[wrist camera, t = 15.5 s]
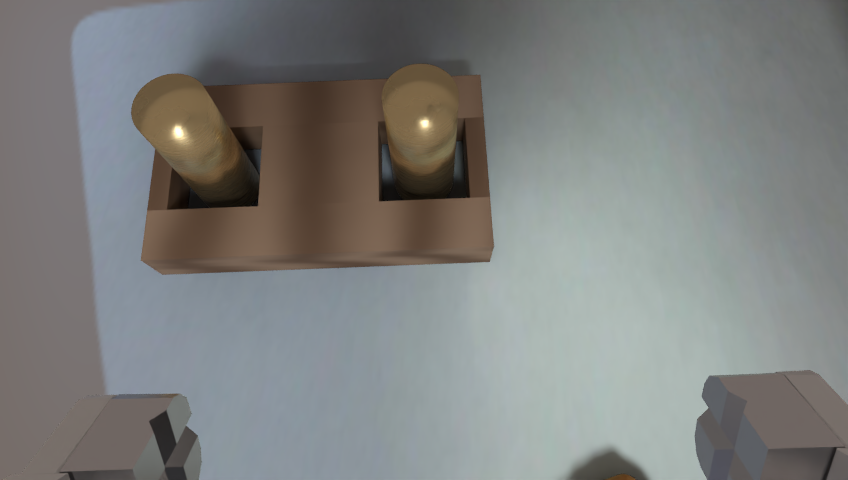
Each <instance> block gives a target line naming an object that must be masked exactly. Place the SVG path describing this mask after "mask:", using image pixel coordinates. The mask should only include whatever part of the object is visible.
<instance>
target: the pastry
mask: <svg viewBox="0 0 848 480" xmlns="http://www.w3.org/2000/svg"><path fill="white" fill-rule="evenodd" d="M605 480H636V479H635V478H633V477H632V476H629V475H626V474H619V475H616V476H613V477H610V478H608V479H605Z"/></svg>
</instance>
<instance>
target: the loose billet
mask: <svg viewBox="0 0 848 480" xmlns="http://www.w3.org/2000/svg"><path fill="white" fill-rule="evenodd" d="M458 103H459V92H458V88H457V85H456V83H455V81H454V80H453V78H452V77H451V76H450V75H449V74H448V73H447V72H446V71H444V70H443V69H441V68H439V67H436V66H434V65H429V64H412V65H408V66H405V67H403V68H401V69H399V70H397V71H396V72H395V73H393V74H392V75H391V76H390V77H389V78H388V80H387V81H386V83H385V85H384V87H383V91H382V105H383V112H384V118H385V125H386V131H387V138H388V145H389V151H390V158H391V164H392V171H393V178H394V184H395V188H396V191H397V192H398V194H399V195H400V197H401V198H402V199H403V200H427V199H445V198H446V197H447V196H448V195H449V193H450V192H451V189H452V187H453V180H454V165H455V149H456V134H457V118H458Z"/></svg>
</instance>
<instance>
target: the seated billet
mask: <svg viewBox="0 0 848 480" xmlns="http://www.w3.org/2000/svg"><path fill="white" fill-rule="evenodd" d="M131 115H132V120H133V123H134V125H135V126H136V128H137V129H138V130H139V131H140V133H141V134H142V135H143V136H144V137H145V138H146V139H147V140H148V141H149V142H150V143H151V145H152V146H153V147H154V148H155V149H156V150H157V151H158V152H159V153H160V154H161V155H162V157H163V158H164V159H165V160H166V161H167V162H168V163H169V164H170V165H171V166H172V168H173V169H174V170H175V171H176V172H177V173H178V174H179V175H180V176H181V177H182V178H183V180H184V181H185V182H186V183H187V184H188V185H189V186H190V187H191V188H192V189H193V191H194V192H195V193H196V194H197V195H198V196H199V197H200V198H201V199H202V200H203V201H204V203H205V204H206V205H207V206H208V207H209V208H226V207H250V206H251V205H252V204H253V203H254V202H255V201H256V199H257V197H258V195H259V183H260V176H259V174H258V172H257V171H256V169H255V167H254V166H253V164H252V163H251V161H250V159H249V158H248V156H247V155H246V153H245V151H244V150H243V148H242V147H241V145H240V143H239V142H238V140H237V139H236V137H235V135H234V134H233V132H232V131H231V129H230V128H229V126H228V124H227V123H226V121H225V120H224V118H223V116H222V115H221V113H220V112H219V110H218V108H217V107H216V105H215V104H214V102H213V100H212V99H211V97H210V96H209V94H208V92H207V91H206V89H205V88H204V86H203V85H202V84H201V83H200V82H199V81H198V80H196V79H195V78H193V77H191V76H188V75H184V74H167V75H163V76H160V77H158V78H155V79H153V80H152V81H150V82H149V83H147V84H146V85H145V86H144V87H142V89H141V90H140V91H139V92H138V94H137V95H136V97H135V99H134V101H133V104H132V110H131Z"/></svg>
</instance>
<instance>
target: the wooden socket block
mask: <svg viewBox="0 0 848 480" xmlns="http://www.w3.org/2000/svg"><path fill="white" fill-rule="evenodd" d="M451 77H452V78H453V80H454V81H455V83H456V85H457V88H458V92H459V103H458V118H457V134H456V141H463V150H464V165H465V181H466V196H467V198H452V199H427V200H402V201H383V197H382V144H388V138H387V131H386V125H385V118H384V112H383V105H382V91H383V87H384V85H385V83H386V81H387V80H388V79H367V80H343V81H318V82H294V83H269V84H244V85H220V86H204V88H205V89H206V91H207V92H208V94H209V96H210V97H211V99H212V100H213V102H214V104H215V105H216V107H217V108H218V110H219V112H220V113H221V115H222V116H223V118H224V120H225V121H226V123H227V124H228V126H229V128H230V129H231V131H232V132H233V134H234V135H235V137H236V139H237V140H238V142H239V143H240V145H241V147H242V148H243V150H248V149H262V151H261V167H260V183H259V199H258V206H251V207H226V208H201V209H188V203H189V193H190V186H189V185H188V184H187V183H186V182H185V181H184V180H183V178H182V177H181V176H180V175H179V174H178V173H177V172H176V171H175V170H174V169H173V168H172V166H171V165H170V164H169V163H168V162H167V161H166V160H165V159H164V158H163V157H162V155H161V154H160V153H159V152H158V151H157V150H156V149H155V155H154V163H153V170H152V178H151V186H150V194H149V201H148V209H147V217H146V225H145V232H144V240H143V248H142V256H141V261H143V262H144V263H146V264H147V265H149V266H150V267H152V268H153V269H155V270H156V271H158V272H159V273H161V274H162V275H166V274H191V273H217V272H242V271H267V270H293V269H318V268H344V267H369V266H395V265H420V264H445V263H471V262H490V258H491V255H492V251H493V248H494V242H493V230H492V217H491V204H490V192H489V179H488V166H487V154H486V141H485V129H484V116H483V103H482V91H481V78H480V75H465V76H451Z"/></svg>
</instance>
